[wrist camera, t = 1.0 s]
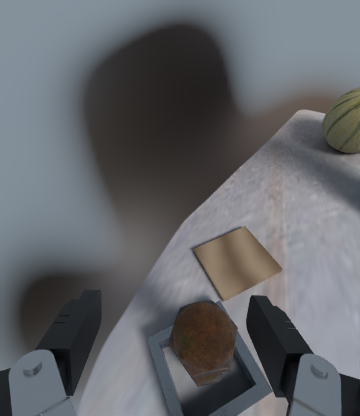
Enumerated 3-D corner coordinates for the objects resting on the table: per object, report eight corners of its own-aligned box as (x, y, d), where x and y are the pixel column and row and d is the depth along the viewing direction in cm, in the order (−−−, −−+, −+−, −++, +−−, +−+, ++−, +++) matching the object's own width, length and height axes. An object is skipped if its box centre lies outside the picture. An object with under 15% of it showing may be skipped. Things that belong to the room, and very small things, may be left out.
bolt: (185, 397, 27) (172, 380, 16) (179, 349, 30) (163, 309, 19) (232, 386, 27) (250, 363, 16) (220, 340, 31) (228, 295, 20)
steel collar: (218, 308, 34) (219, 300, 31) (267, 393, 26) (272, 391, 24) (150, 343, 31) (146, 338, 29) (184, 449, 24) (181, 451, 22)
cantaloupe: (330, 128, 66) (355, 71, 55) (389, 147, 57) (431, 83, 46) (302, 148, 60) (323, 89, 49) (362, 172, 52) (403, 106, 41)
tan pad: (244, 229, 43) (244, 226, 42) (280, 271, 37) (282, 268, 36) (193, 251, 41) (193, 248, 40) (223, 301, 34) (223, 299, 33)
